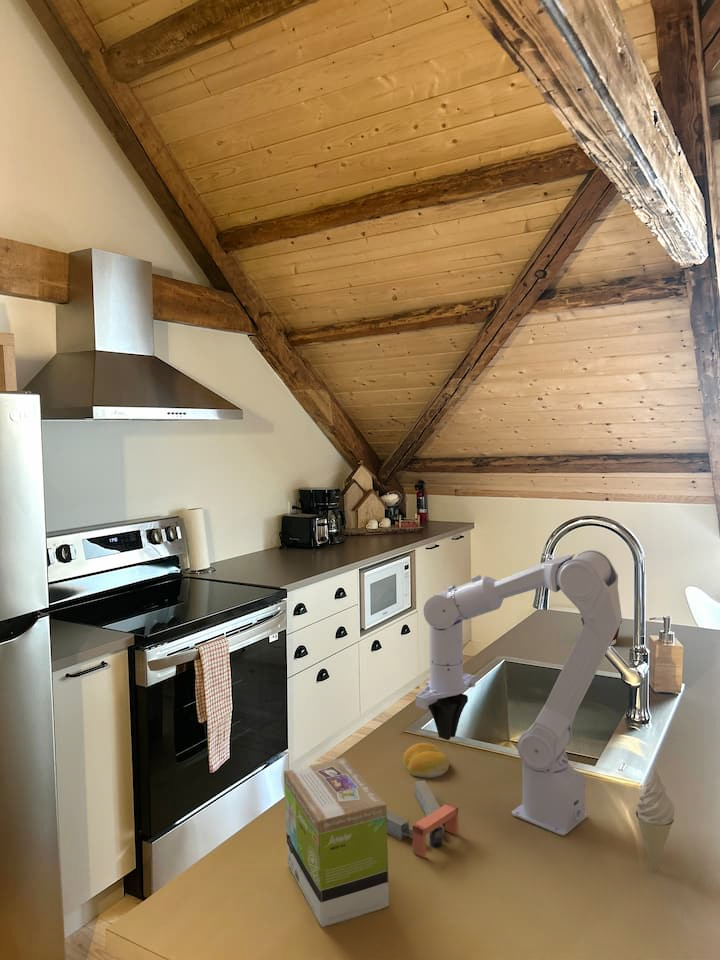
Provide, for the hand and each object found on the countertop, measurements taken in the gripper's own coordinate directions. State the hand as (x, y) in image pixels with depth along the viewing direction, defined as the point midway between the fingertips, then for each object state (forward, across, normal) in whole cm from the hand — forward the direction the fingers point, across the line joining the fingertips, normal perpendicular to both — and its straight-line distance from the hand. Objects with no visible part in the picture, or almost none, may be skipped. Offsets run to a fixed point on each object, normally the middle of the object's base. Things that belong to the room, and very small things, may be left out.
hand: (446, 736), depth 127 cm
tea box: (+10, +32, +5) cm, 34 cm away
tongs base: (+9, +16, +2) cm, 18 cm away
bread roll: (+10, -4, -8) cm, 13 cm away
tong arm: (+9, +9, +3) cm, 13 cm away
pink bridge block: (+9, +15, +9) cm, 20 cm away
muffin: (+10, -99, -19) cm, 101 cm away
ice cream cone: (+10, -1, +36) cm, 37 cm away
